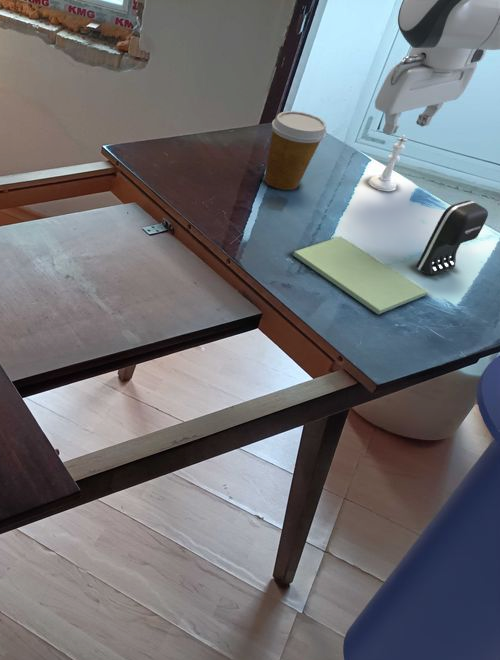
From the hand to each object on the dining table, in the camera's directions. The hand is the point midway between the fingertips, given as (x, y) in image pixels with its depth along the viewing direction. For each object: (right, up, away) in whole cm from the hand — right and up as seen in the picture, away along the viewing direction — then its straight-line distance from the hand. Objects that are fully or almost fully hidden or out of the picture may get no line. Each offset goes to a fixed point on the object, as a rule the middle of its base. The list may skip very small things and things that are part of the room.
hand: (405, 129), depth 124 cm
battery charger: (-3, -27, -14) cm, 31 cm away
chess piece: (-1, -9, +7) cm, 11 cm away
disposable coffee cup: (-21, -8, +6) cm, 23 cm away
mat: (-17, -28, -17) cm, 37 cm away
